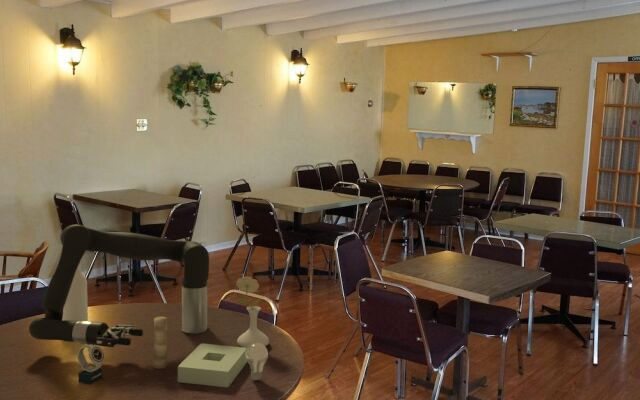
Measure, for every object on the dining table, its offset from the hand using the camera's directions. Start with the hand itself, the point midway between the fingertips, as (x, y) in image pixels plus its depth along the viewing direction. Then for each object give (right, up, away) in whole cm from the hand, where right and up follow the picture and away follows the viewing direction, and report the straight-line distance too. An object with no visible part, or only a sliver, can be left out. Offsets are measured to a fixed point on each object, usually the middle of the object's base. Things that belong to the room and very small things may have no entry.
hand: (136, 337), depth 211 cm
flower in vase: (+35, -7, +20) cm, 41 cm away
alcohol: (-33, -3, +34) cm, 47 cm away
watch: (-11, -11, -12) cm, 19 cm away
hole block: (+26, -10, -3) cm, 28 cm away
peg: (+8, -9, 0) cm, 12 cm away
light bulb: (+40, -12, -9) cm, 42 cm away
